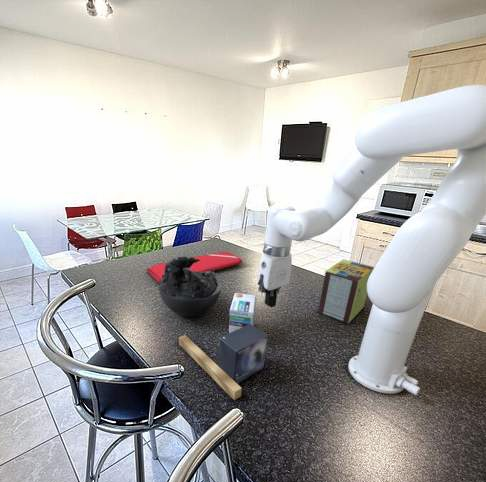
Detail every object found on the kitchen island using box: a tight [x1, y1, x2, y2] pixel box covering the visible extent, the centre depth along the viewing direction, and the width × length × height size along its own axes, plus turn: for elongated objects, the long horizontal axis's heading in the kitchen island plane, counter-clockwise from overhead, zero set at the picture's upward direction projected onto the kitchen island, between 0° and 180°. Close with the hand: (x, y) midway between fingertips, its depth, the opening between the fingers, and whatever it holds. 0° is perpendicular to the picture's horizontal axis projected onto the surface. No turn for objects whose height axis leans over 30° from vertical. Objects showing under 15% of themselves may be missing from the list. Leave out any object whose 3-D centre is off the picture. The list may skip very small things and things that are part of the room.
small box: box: [217, 324, 269, 385], centre depth 71 cm, size 11×6×10 cm, turn 128°
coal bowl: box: [158, 255, 222, 317], centre depth 94 cm, size 20×20×19 cm
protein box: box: [317, 258, 375, 325], centre depth 98 cm, size 10×15×16 cm
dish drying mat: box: [146, 251, 244, 284], centre depth 131 cm, size 16×41×4 cm, turn 121°
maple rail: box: [178, 334, 243, 401], centre depth 73 cm, size 24×2×2 cm, turn 36°
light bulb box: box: [228, 292, 257, 334], centre depth 85 cm, size 11×7×11 cm, turn 168°
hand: (270, 304), depth 91 cm, fingers closed
